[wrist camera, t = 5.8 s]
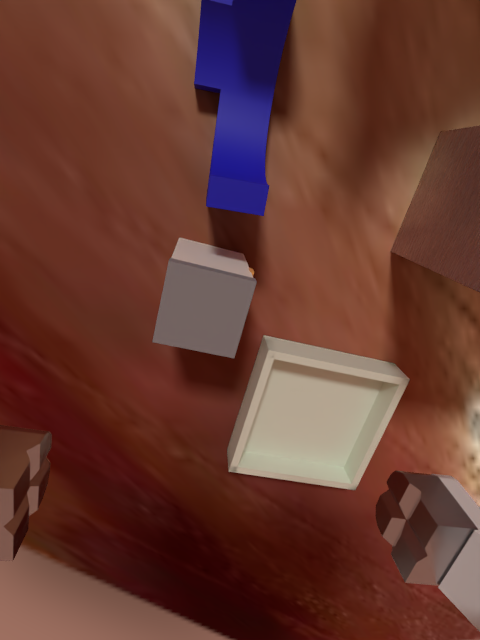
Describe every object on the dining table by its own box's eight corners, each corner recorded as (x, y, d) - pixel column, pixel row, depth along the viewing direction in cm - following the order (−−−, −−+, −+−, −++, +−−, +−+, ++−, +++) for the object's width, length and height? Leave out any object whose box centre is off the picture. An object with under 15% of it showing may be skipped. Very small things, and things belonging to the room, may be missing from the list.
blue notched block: (208, -39, 20) (209, -119, 14) (289, -18, 21) (320, -86, 15) (183, 193, 24) (176, 201, 19) (251, 205, 25) (263, 215, 19)
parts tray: (227, 449, 32) (228, 471, 30) (263, 335, 28) (268, 350, 26) (345, 468, 34) (355, 490, 32) (394, 363, 30) (409, 379, 28)
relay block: (165, 300, 27) (151, 343, 20) (178, 236, 25) (168, 260, 19) (228, 315, 28) (235, 360, 21) (245, 253, 26) (258, 282, 19)
